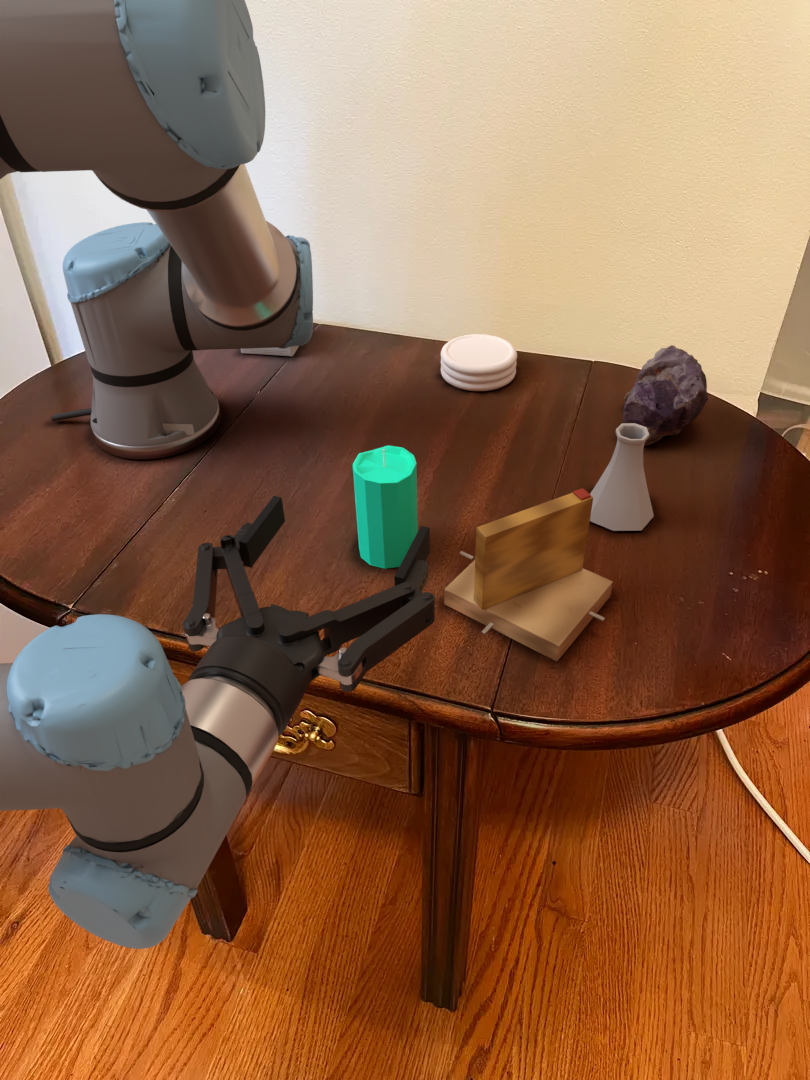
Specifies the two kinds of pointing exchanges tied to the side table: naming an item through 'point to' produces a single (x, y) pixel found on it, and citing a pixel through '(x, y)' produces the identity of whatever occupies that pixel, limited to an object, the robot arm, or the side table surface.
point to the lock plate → (536, 609)
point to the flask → (624, 484)
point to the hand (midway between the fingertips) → (350, 523)
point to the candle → (385, 504)
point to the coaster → (478, 362)
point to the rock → (666, 394)
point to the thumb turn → (531, 548)
